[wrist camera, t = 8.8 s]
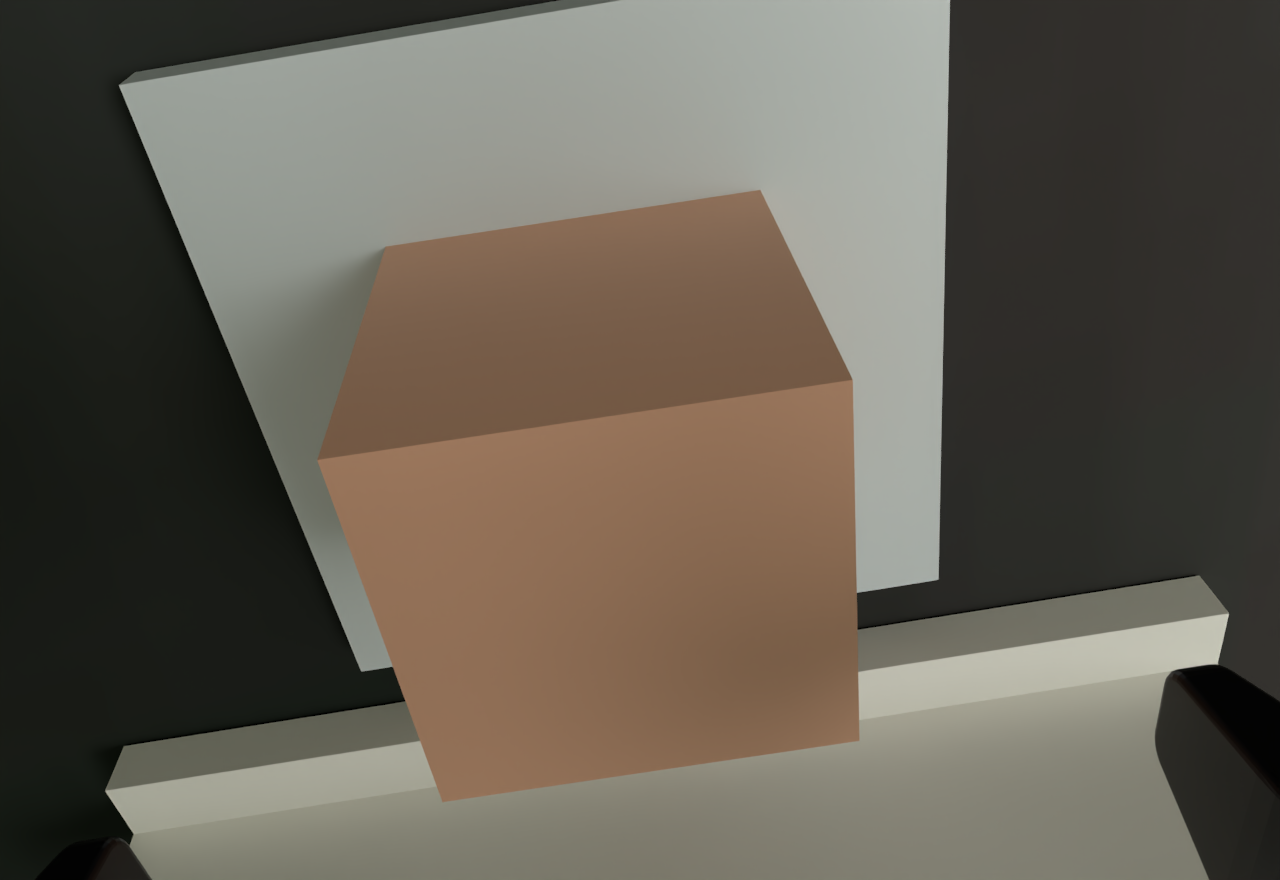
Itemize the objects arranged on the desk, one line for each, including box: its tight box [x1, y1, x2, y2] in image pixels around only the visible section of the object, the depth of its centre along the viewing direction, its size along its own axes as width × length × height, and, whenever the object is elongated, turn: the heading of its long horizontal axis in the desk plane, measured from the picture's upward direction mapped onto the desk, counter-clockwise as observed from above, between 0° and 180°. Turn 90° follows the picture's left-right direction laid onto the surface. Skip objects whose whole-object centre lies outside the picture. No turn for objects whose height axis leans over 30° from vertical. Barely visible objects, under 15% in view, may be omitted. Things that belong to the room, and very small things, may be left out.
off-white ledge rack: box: [105, 576, 1229, 880], centre depth 18 cm, size 4×20×6 cm, turn 98°
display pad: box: [119, 0, 950, 672], centre depth 15 cm, size 10×10×1 cm
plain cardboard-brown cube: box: [317, 190, 859, 802], centre depth 13 cm, size 5×5×5 cm
